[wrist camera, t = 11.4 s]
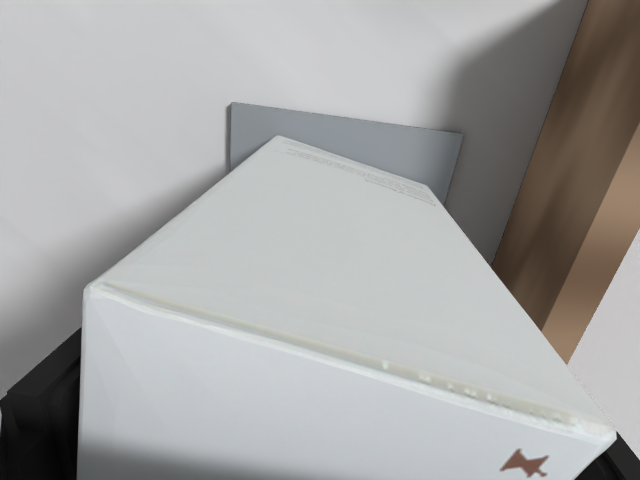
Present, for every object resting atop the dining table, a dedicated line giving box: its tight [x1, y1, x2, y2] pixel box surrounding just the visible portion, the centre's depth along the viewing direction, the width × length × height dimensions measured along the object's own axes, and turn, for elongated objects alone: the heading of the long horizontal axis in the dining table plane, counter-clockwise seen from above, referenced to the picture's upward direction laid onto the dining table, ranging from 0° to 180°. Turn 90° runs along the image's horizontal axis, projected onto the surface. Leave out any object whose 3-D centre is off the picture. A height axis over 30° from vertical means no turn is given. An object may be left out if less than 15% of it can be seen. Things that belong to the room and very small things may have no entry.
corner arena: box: [491, 0, 640, 365], centre depth 15 cm, size 21×21×5 cm
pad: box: [230, 102, 464, 207], centre depth 17 cm, size 10×10×1 cm
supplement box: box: [77, 135, 617, 480], centre depth 11 cm, size 7×7×13 cm
